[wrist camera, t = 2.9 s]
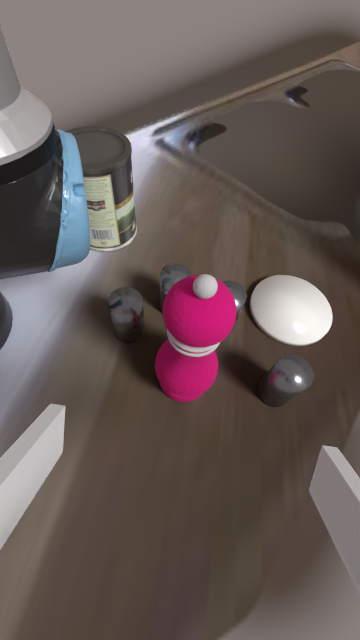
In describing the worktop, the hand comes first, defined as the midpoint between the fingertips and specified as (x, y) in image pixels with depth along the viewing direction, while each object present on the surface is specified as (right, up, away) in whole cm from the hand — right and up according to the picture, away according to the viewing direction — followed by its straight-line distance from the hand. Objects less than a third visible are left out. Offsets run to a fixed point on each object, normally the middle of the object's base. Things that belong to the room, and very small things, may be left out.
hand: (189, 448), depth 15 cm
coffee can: (-13, +22, +35) cm, 44 cm away
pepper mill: (0, -1, +23) cm, 23 cm away
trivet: (+16, +8, +29) cm, 34 cm away
